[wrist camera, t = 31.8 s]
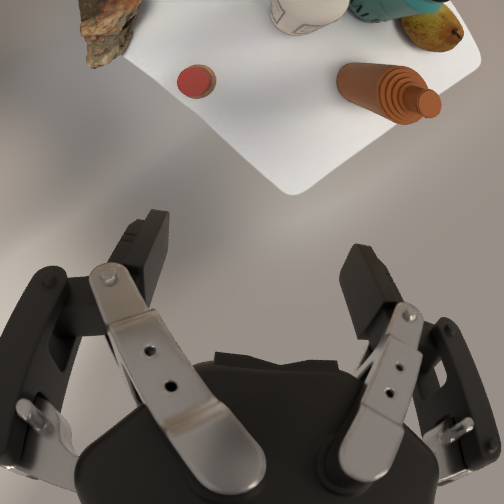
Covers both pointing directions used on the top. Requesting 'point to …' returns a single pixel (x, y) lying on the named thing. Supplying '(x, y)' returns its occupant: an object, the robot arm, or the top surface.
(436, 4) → the beverage bottle
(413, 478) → the robot arm
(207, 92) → the coaster
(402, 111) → the sauce bottle
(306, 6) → the bath foam
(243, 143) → the top surface
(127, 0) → the rock
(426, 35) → the fruit
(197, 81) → the cap
